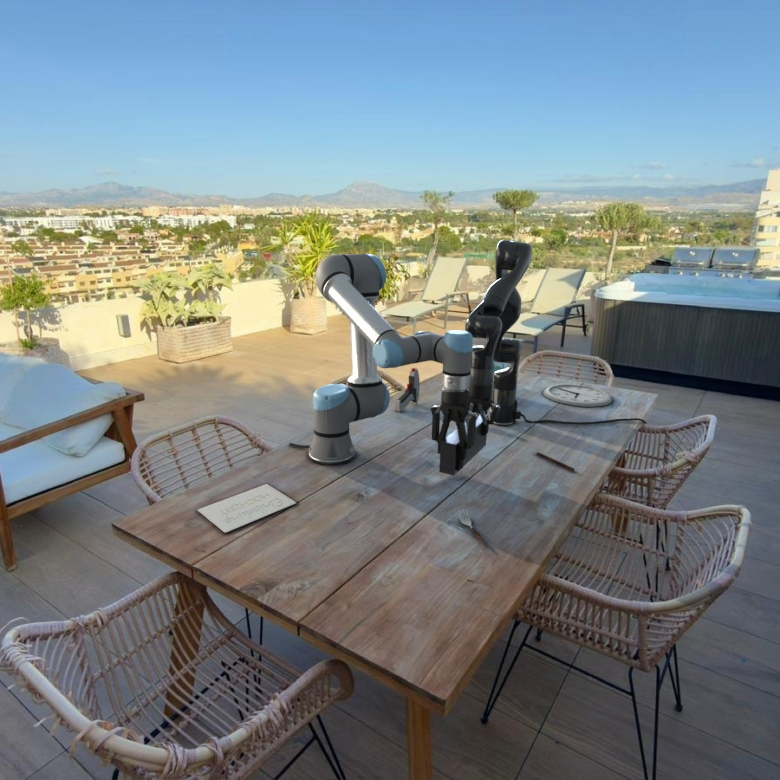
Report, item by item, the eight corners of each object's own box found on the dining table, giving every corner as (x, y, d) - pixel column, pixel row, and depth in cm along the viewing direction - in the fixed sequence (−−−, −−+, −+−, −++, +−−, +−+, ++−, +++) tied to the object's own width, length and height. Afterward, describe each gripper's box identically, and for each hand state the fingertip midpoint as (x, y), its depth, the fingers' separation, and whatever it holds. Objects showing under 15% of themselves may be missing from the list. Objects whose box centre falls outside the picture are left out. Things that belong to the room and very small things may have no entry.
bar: (472, 442, 168) (474, 414, 165) (485, 445, 165) (488, 417, 163) (439, 471, 147) (440, 441, 144) (454, 475, 145) (455, 444, 142)
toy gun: (393, 376, 211) (414, 366, 222) (394, 412, 217) (415, 401, 228) (398, 377, 210) (419, 367, 221) (399, 414, 216) (419, 402, 227)
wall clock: (625, 402, 226) (558, 403, 224) (625, 406, 227) (558, 407, 224) (594, 383, 255) (534, 383, 252) (593, 386, 255) (534, 386, 253)
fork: (482, 550, 123) (483, 543, 123) (456, 516, 138) (457, 509, 138) (492, 549, 124) (493, 542, 124) (465, 515, 139) (466, 508, 138)
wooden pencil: (536, 454, 177) (536, 452, 176) (537, 454, 177) (537, 451, 177) (573, 471, 165) (573, 468, 164) (574, 471, 165) (574, 468, 165)
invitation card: (266, 483, 153) (296, 502, 143) (266, 484, 153) (296, 503, 143) (197, 509, 139) (225, 532, 129) (197, 510, 139) (225, 533, 129)
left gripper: (420, 386, 142) (417, 464, 149) (481, 397, 134) (475, 479, 141) (432, 379, 149) (429, 455, 156) (491, 390, 140) (485, 469, 147)
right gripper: (452, 380, 157) (450, 432, 163) (498, 387, 151) (494, 442, 156) (462, 374, 164) (459, 425, 169) (506, 381, 157) (502, 434, 162)
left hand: (451, 466), depth 148 cm, fingers closed on bar, 4 cm apart
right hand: (476, 433), depth 162 cm, fingers closed on bar, 4 cm apart
